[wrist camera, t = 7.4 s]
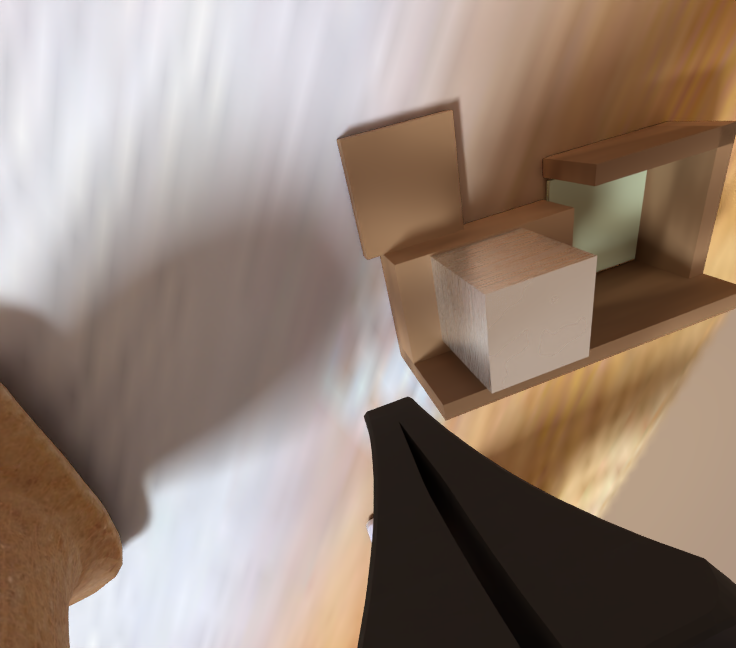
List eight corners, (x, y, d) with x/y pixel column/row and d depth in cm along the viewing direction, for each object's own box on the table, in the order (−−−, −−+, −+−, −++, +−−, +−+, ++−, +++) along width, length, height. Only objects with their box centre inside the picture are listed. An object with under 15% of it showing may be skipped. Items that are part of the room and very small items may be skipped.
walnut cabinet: (644, 269, 22) (744, 304, 17) (388, 360, 19) (429, 426, 15) (678, 48, 16) (832, 21, 12) (336, 139, 14) (376, 146, 10)
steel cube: (522, 311, 18) (588, 356, 14) (442, 340, 17) (492, 393, 14) (520, 227, 16) (597, 255, 12) (430, 256, 15) (484, 294, 12)
